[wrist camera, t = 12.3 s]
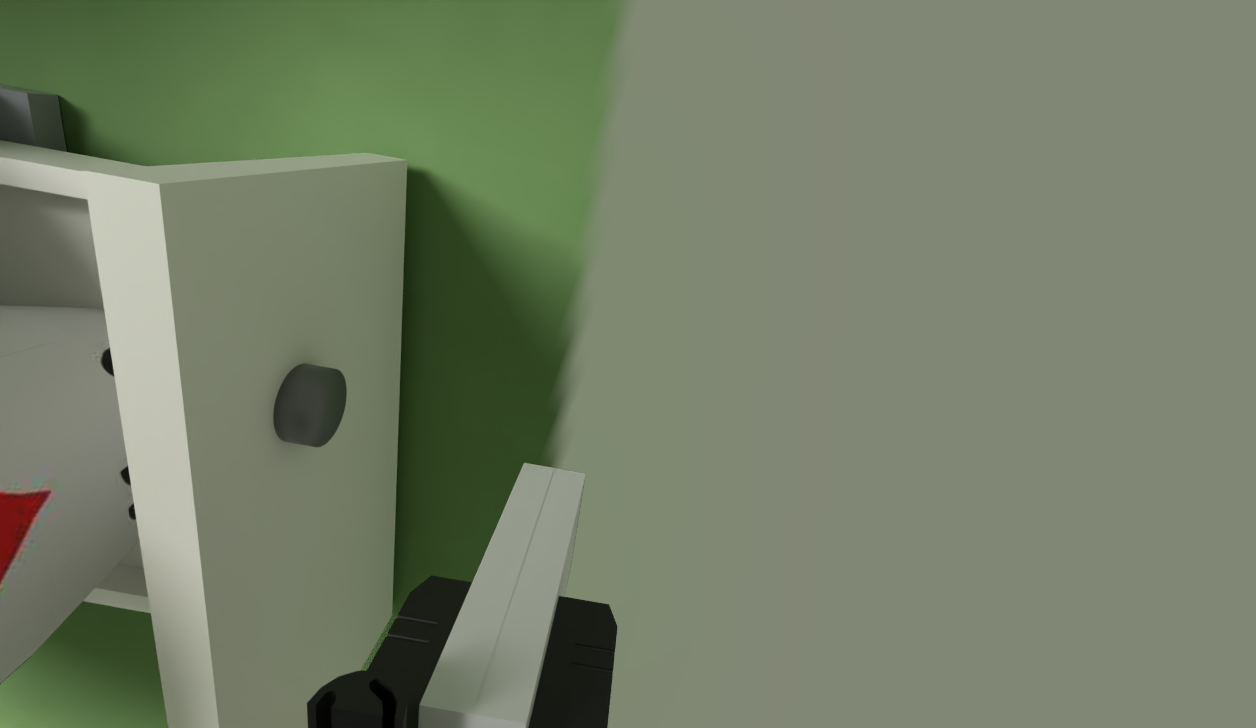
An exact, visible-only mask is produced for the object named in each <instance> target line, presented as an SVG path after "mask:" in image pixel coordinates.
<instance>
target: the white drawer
mask: <svg viewBox="0 0 1256 728" xmlns="http://www.w3.org/2000/svg"><path fill="white" fill-rule="evenodd" d="M406 184H407V160H405V159H399V158H394V157H388V156H383V155H377V154H372V153H359V154H342V155H326V156H309V157H293V158H276V159H260V160H243V161H227V162H211V163H194V164H178V165H161V166H141V165H136V164H130V163H125V162H119V161H114V160H108V159H103V158H97V157H91V156H86V155H80V154H75V153H69V152H64V151H58V150H53V149H47V148H42V147H36V146H30V145H25V144H19V143H14V142H8V141H3V140H0V305H11V306H47V307H84V308H102V309H104V312H105V318H106V325H107V331H108V338H109V344H110V351H111V357H112V364H113V370H114V377H115V383H116V390H117V397H118V403H119V410H120V416H121V423H122V429H123V436H124V442H125V449H126V455H127V462H128V468H129V475H130V481H131V488H132V495H133V501H134V508H135V514H136V521H137V527H138V534H139V542H138V543H137V544H136V545H135V546H134V547H133V548H132V549H131V550H130V551H129V552H128V553H127V554H126V555H125V556H124V558H123V559H122V560H121V561H120V562H119V563H118V564H117V565H116V566H115V567H114V568H113V569H112V570H111V571H110V573H109V574H108V575H107V576H106V577H105V578H104V579H103V580H102V581H101V582H100V583H99V584H98V585H97V586H96V587H95V589H94V590H93V591H92V592H91V593H90V594H89V595H88V596H87V597H86V598H85V599H84V600H83V601H85V602H90V603H96V604H101V605H107V606H113V607H118V608H124V609H129V610H135V611H141V612H146V613H151V619H152V625H153V632H154V638H155V645H156V651H157V658H158V664H159V671H160V677H161V684H162V690H163V697H164V703H165V710H166V717H167V723H168V728H308V718H307V702H308V701H309V700H310V699H311V698H312V697H313V696H314V695H315V693H316V692H317V691H318V690H319V689H320V688H321V687H323V686H324V685H326V684H327V683H329V682H330V681H332V680H334V679H335V678H337V677H339V676H342V675H345V674H349V673H352V672H355V671H361V669H362V667H363V666H364V664H365V662H366V660H367V659H368V657H369V655H370V653H371V652H372V650H373V648H374V646H375V645H376V643H377V641H378V639H379V638H380V636H381V634H382V632H383V631H384V629H385V627H386V625H387V624H388V622H389V620H390V618H391V617H392V604H393V574H394V544H395V514H396V484H397V454H398V424H399V394H400V364H401V334H402V304H403V274H404V244H405V214H406Z"/></svg>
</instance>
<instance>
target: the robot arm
mask: <svg viewBox="0 0 1256 728" xmlns="http://www.w3.org/2000/svg"><path fill="white" fill-rule="evenodd" d="M584 481H585V473H581V472H575V471H569V470H563V469H557V468H552V467H546V466H540V465H534V464H529V463H524V464H523V466H522V469H521V471H520V473H519V476H518V478H517V480H516V483H515V485H514V487H513V489H512V492H511V494H510V496H509V499H508V501H507V503H506V506H505V508H504V510H503V513H502V515H501V517H500V520H499V522H498V524H497V527H496V529H495V531H494V533H493V536H492V538H491V540H490V543H489V545H488V547H487V550H486V552H485V554H484V557H483V559H482V561H481V564H480V566H479V568H478V570H477V573H476V575H475V577H474V580H473V582H472V583H471V582H465V581H460V580H454V579H448V578H442V577H436V576H430V577H429V578H428V579H426V580H425V581H424V582H423V583H422V584H420V585H419V586H418V587H417V588H415V589H414V590H413V591H412V592H410V594H409V596H408V598H407V600H406V601H405V603H404V605H403V607H402V608H401V610H400V612H399V614H398V617H397V619H395V621H394V623H393V625H392V626H391V628H390V630H389V632H388V635H387V637H385V639H384V641H383V643H382V644H381V646H380V648H379V650H378V652H377V653H376V655H375V657H374V659H373V661H372V662H371V664H370V666H369V668H368V669H367V671H355V672H352V673H349V674H345V675H342V676H339V677H337V678H335V679H334V680H332V681H330V682H329V683H327V684H326V685H324V686H323V687H321V688H320V689H319V690H318V691H317V692H316V693H315V695H314V696H313V697H312V698H311V699H310V700H309V701H308V702H307V718H308V728H607V725H608V714H609V705H610V695H611V684H612V672H613V665H614V652H615V645H616V635H617V624H616V622H615V619H614V617H613V614H612V611H611V609H610V606H609V605H608V604H603V603H597V602H591V601H585V600H580V599H574V598H568V597H564V595H565V590H566V586H567V581H568V577H569V572H570V568H571V563H572V557H573V551H574V544H575V538H576V532H577V525H578V519H579V513H580V506H581V500H582V494H583V488H584Z"/></svg>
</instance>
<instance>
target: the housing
mask: <svg viewBox="0 0 1256 728" xmlns="http://www.w3.org/2000/svg"><path fill="white" fill-rule="evenodd" d="M0 140H3V141H8V142H14V143H19V144H25V145H30V146H36V147H42V148H47V149H53V150H58V151H64V152H67V150H66V144H65V138H64V132H63V125H62V119H61V113H60V107H59V100H58V95H54V94H49V93H43V92H37V91H32V90H26V89H21V88H15V87H10V86H4V85H0Z"/></svg>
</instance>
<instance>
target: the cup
mask: <svg viewBox="0 0 1256 728" xmlns="http://www.w3.org/2000/svg"><path fill="white" fill-rule="evenodd" d="M138 542H139V534H138V527H137V521H136V514H135V508H134V501H133V495H132V488H131V481H130V475H129V468H128V462H127V455H126V449H125V442H124V436H123V429H122V423H121V416H120V410H119V403H118V397H117V390H116V383H115V377H114V370H113V364H112V357H111V351H110V344H109V338H108V331H107V325H106V318H105V312H104V309H102V308H84V307H47V306H11V305H0V684H1V683H2V682H3V681H4V680H5V679H6V678H8V677H9V676H10V675H11V674H12V673H13V672H14V671H15V670H17V669H18V668H19V667H20V666H21V665H22V664H23V663H24V662H25V661H27V660H28V659H29V658H30V657H31V656H32V655H33V654H34V653H35V652H36V651H37V649H38V648H39V647H40V646H41V645H42V644H43V643H44V642H45V641H46V640H47V639H48V638H49V637H50V636H51V635H52V633H53V632H54V631H55V630H56V629H57V628H58V627H59V626H60V625H61V624H62V623H63V622H64V621H65V620H66V618H67V617H68V616H69V615H70V614H71V613H72V612H73V611H74V610H75V609H76V608H77V607H78V606H79V605H80V604H81V602H82V601H83V600H84V599H85V598H86V597H87V596H88V595H89V594H90V593H91V592H92V591H93V590H94V589H95V587H96V586H97V585H98V584H99V583H100V582H101V581H102V580H103V579H104V578H105V577H106V576H107V575H108V574H109V573H110V571H111V570H112V569H113V568H114V567H115V566H116V565H117V564H118V563H119V562H120V561H121V560H122V559H123V558H124V556H125V555H126V554H127V553H128V552H129V551H130V550H131V549H132V548H133V547H134V546H135V545H136V544H137V543H138Z"/></svg>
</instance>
